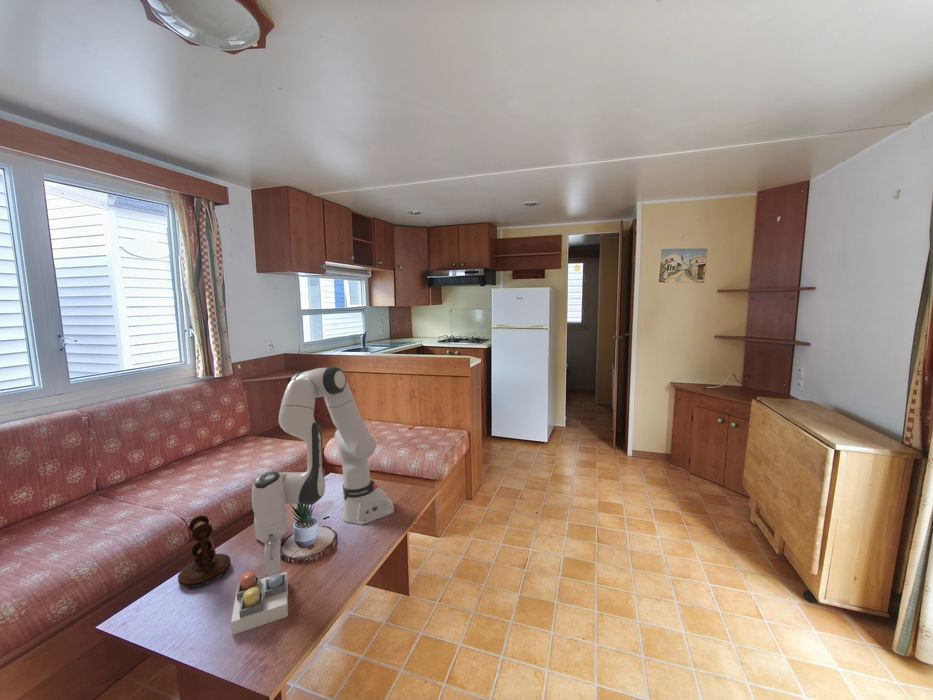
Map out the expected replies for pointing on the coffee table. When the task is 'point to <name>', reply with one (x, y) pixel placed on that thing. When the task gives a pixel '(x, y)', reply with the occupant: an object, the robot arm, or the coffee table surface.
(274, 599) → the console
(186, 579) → the brown spool stand
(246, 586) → the brick button
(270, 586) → the slate button
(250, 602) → the ochre button
